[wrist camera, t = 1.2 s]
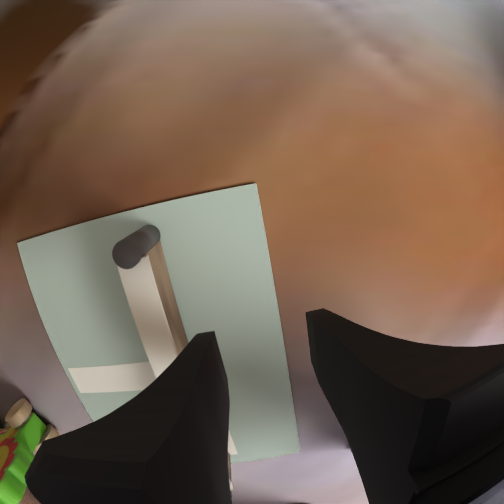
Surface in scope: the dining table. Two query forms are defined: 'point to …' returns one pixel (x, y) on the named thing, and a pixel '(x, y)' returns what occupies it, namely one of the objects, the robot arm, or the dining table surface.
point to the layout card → (189, 304)
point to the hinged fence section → (151, 296)
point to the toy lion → (19, 449)
